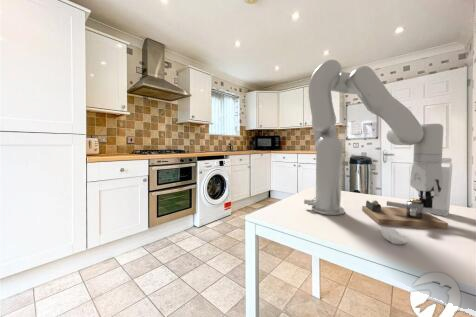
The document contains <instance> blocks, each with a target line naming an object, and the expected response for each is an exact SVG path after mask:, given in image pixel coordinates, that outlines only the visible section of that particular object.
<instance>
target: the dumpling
mask: <svg viewBox="0 0 476 317" xmlns="http://www.w3.org/2000/svg"><path fill="white" fill-rule="evenodd" d="M380 232H381V235H382V236H383V238H385V240H386V241H389V242H390V243H391V244H393V245H402V244H406V243H408V242H409V240H408V239H407V238H406V236H403V235H402V234H401V233H399V232H398V230H396V228H391V227H390V228H389V227H386V226H383V227H380Z"/></svg>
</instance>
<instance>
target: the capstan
mask: <svg viewBox="0 0 476 317" xmlns="http://www.w3.org/2000/svg"><path fill="white" fill-rule="evenodd" d="M386 207H395V208H405V209H407V210H406V216H408V217H410V218H415V219H422V218H423V212H426V213H427V212H429V213H428V214H432V213H435V214H434V215H437V214H441V215H440V216H442V215H447V210H442V209H436V208H429V207H423V203H421V200H419V198H410V199H409V200H407V201H406V203H401V202H396V201H391V200H390V201H389V200H387V201H386ZM447 216H448V215H447Z"/></svg>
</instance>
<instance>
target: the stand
mask: <svg viewBox="0 0 476 317" xmlns="http://www.w3.org/2000/svg"><path fill="white" fill-rule="evenodd" d="M361 208H362V210H361V211H362V212H363V213H364V214H365V215H367V216H368V217H369V218H370V219H371V220H372V221H374V222H375V223H376V224H377V225H380V226H396V227H407V228H408V227H410V228H422V229H424V228H425V229H426V228H427V229H439V230H448V227H449V223H448V222H446V221H444V220H443V219H440V218H438V217H436V216H434V215H432V214H431V213H427V212H423V218H422V219H415V218H410V217H408V216H406V210H407V209H405V208H399V207H393V206H382V205H381V204H380V203H379V202H378V201H377V200H376V199H373V200H372V201H369V200H366V202H365V205H362V206H361Z"/></svg>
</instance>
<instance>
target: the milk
mask: <svg viewBox="0 0 476 317" xmlns="http://www.w3.org/2000/svg"><path fill="white" fill-rule="evenodd" d="M441 165H442V174H443V186H442V191H440V192H438V193H439V196H434V199H433V200H432V208H436V209H442V210H447V215H441V214H435V213H431V215H432V214H433V215H437V216H441V217H442V216H443V217H447V216H448V214H450V204H451V203H450V202H451V191H452V190H451V187H452V177H453V176H452V175H453V164H452V158H450V157H442V163H441ZM426 213H428V214H430V213H429V212H426Z"/></svg>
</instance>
